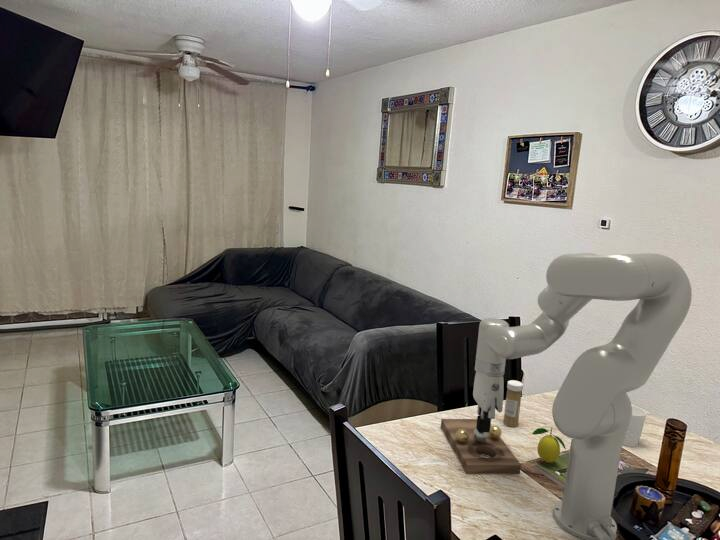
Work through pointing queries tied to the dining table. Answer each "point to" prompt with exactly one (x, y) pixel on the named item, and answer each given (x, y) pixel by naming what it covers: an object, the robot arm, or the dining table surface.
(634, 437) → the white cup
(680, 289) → the robot arm
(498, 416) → the dining table surface
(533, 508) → the dining table surface
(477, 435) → the steel ball
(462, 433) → the brass ball
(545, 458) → the lemon
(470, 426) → the plate
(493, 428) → the brass ball
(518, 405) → the sprinkles bottle
